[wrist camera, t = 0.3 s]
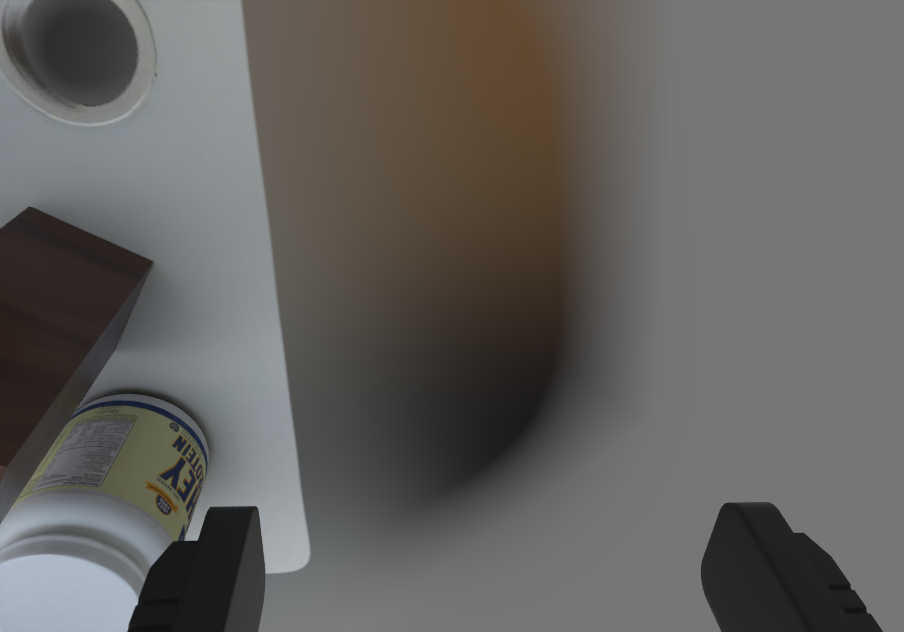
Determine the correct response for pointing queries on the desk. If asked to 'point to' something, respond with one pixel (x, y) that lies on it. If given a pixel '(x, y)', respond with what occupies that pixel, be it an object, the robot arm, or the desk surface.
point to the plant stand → (54, 332)
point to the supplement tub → (99, 515)
